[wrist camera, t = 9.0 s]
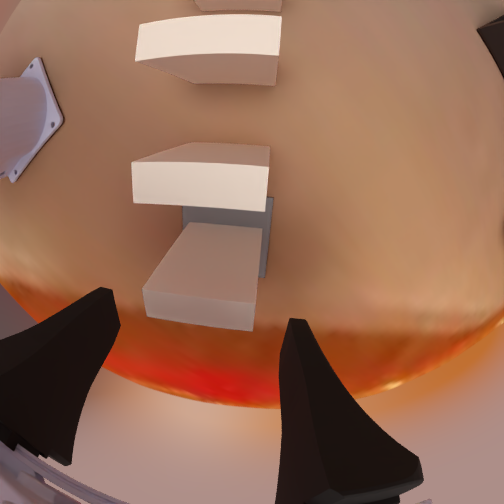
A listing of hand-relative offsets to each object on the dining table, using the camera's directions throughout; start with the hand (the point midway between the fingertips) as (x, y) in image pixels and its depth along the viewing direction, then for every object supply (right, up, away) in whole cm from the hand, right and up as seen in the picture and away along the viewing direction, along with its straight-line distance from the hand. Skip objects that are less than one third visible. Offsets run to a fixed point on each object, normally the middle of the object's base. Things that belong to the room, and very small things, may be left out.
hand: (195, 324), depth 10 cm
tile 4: (+1, +9, +6) cm, 11 cm away
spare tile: (0, +4, +8) cm, 9 cm away
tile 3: (+1, +14, +3) cm, 14 cm away
